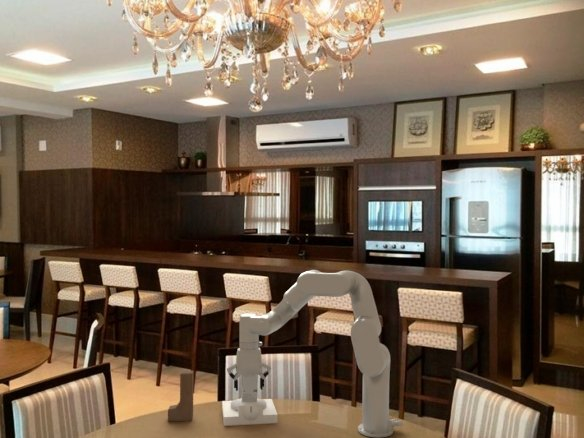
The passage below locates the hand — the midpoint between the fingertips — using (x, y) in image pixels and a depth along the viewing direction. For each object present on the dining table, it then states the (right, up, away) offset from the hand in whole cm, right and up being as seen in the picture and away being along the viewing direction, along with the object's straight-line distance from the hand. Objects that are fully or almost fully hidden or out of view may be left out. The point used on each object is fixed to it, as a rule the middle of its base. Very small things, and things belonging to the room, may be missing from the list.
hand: (249, 389), depth 212 cm
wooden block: (-26, -10, -6) cm, 28 cm away
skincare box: (0, -6, 0) cm, 6 cm away
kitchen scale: (0, -10, -2) cm, 10 cm away
